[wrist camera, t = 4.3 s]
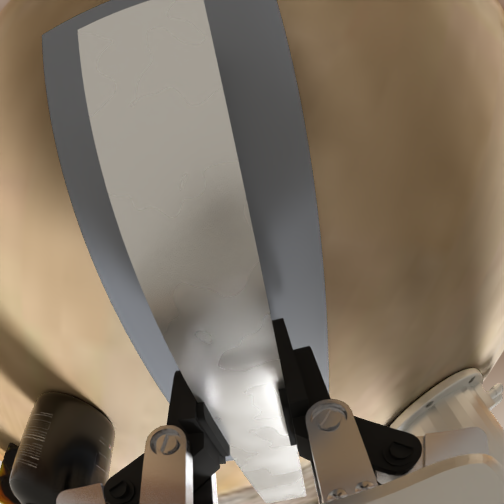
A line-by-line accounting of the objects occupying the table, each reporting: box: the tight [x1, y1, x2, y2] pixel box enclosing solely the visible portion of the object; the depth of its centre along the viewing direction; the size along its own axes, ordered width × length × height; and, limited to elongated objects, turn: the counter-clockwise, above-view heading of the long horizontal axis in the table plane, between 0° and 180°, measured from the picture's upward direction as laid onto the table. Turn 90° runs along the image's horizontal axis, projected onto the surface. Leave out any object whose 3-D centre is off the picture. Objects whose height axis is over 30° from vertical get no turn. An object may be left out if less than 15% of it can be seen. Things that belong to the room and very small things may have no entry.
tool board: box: [42, 0, 329, 461], centre depth 12 cm, size 9×28×1 cm, turn 11°
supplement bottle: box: [9, 392, 115, 504], centre depth 11 cm, size 7×7×12 cm
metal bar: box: [78, 0, 306, 503], centre depth 10 cm, size 2×22×4 cm, turn 11°
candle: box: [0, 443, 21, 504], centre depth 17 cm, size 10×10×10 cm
